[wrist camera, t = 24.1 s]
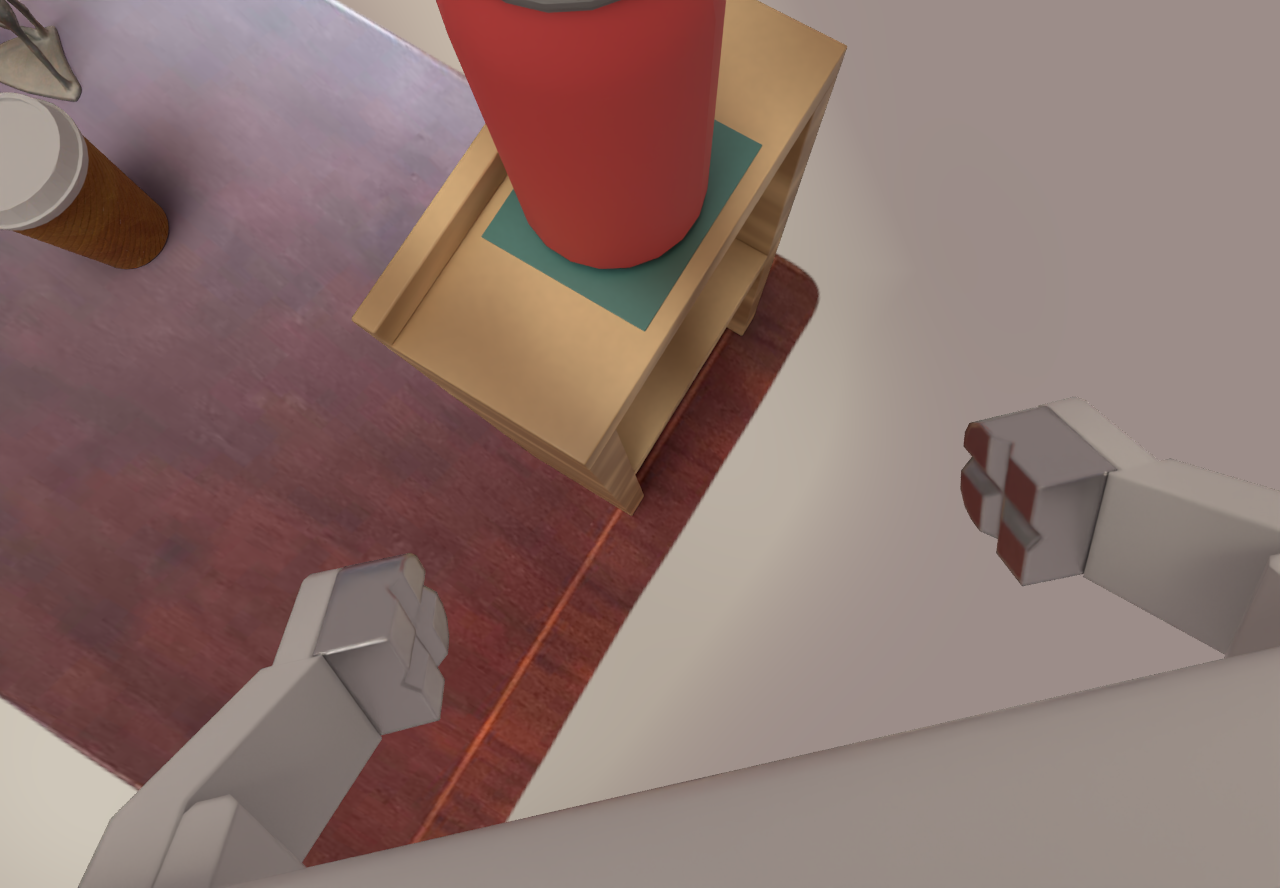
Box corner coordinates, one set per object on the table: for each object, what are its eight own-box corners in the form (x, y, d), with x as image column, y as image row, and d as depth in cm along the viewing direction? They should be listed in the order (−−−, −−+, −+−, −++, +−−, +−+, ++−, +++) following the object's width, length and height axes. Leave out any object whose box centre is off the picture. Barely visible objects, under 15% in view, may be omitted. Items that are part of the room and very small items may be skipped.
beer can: (724, 256, 25) (772, -15, 13) (537, 293, 25) (418, 55, 13) (687, 87, 26) (700, -305, 14) (508, 123, 26) (373, -238, 14)
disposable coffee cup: (148, 307, 58) (14, 243, 46) (53, 258, 59) (-102, 183, 47) (210, 207, 59) (94, 119, 47) (115, 161, 60) (-21, 64, 48)
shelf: (631, 516, 54) (579, 459, 23) (531, 454, 55) (349, 319, 24) (753, 317, 56) (858, 14, 25) (654, 261, 57) (635, -97, 26)
